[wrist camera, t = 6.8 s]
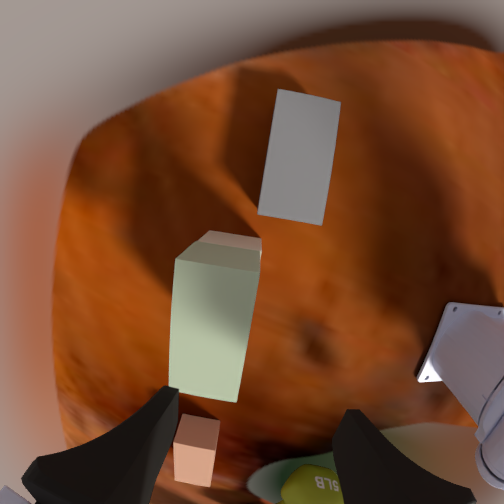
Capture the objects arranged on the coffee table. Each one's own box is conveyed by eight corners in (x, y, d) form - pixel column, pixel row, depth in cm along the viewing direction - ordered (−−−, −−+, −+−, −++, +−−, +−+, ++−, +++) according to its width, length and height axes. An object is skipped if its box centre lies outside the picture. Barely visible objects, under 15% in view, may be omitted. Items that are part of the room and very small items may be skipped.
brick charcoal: (325, 117, 18) (341, 102, 14) (309, 217, 19) (321, 225, 15) (274, 107, 18) (278, 88, 14) (257, 208, 19) (257, 214, 15)
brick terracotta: (220, 419, 23) (215, 450, 19) (214, 459, 25) (210, 487, 21) (183, 412, 23) (173, 442, 19) (182, 453, 25) (175, 480, 21)
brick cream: (261, 238, 20) (261, 251, 16) (245, 330, 21) (242, 360, 17) (209, 230, 20) (197, 241, 16) (199, 323, 21) (187, 350, 17)
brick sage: (259, 251, 16) (259, 272, 12) (241, 360, 17) (236, 402, 13) (195, 241, 16) (175, 258, 12) (185, 350, 17) (168, 389, 13)
